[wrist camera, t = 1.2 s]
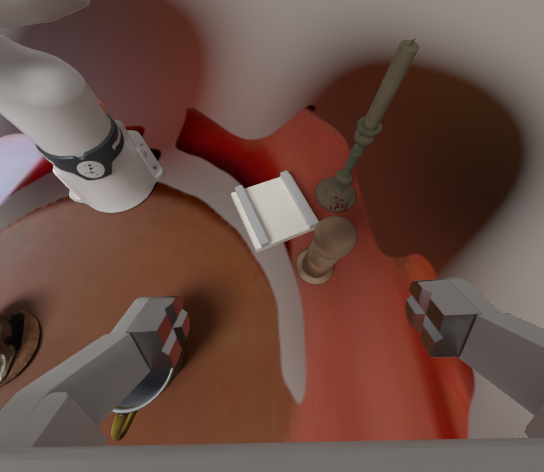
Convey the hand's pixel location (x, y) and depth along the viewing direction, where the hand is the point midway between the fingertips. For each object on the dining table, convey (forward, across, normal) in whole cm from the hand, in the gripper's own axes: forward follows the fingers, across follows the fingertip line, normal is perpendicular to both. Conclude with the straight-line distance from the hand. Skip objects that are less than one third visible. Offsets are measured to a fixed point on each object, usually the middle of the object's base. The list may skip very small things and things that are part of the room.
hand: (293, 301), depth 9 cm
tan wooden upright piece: (+31, -4, +21) cm, 38 cm away
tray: (+40, +2, +13) cm, 43 cm away
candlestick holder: (+45, -11, +12) cm, 48 cm away
